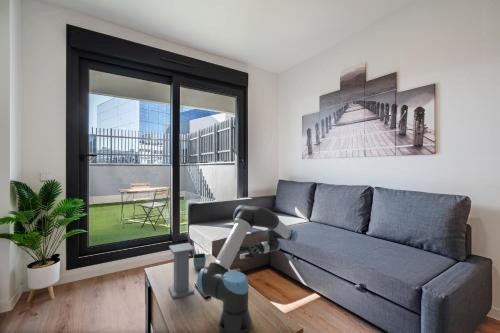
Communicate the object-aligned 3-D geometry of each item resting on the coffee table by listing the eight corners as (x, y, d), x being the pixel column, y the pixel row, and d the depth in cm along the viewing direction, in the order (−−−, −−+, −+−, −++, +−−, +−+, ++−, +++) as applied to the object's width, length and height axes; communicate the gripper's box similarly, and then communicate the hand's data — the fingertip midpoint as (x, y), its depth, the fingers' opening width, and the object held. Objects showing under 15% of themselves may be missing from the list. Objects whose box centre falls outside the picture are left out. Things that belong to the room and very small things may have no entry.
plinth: (188, 284, 144) (188, 242, 144) (194, 293, 134) (194, 248, 134) (168, 289, 138) (168, 245, 138) (172, 299, 128) (173, 252, 128)
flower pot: (193, 271, 162) (193, 258, 162) (192, 266, 170) (193, 254, 170) (205, 270, 164) (206, 257, 164) (204, 265, 172) (205, 253, 173)
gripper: (271, 259, 154) (244, 265, 144) (252, 247, 176) (227, 252, 165) (272, 247, 154) (244, 253, 144) (252, 238, 176) (227, 242, 165)
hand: (235, 253), depth 154 cm, fingers open, 13 cm apart
